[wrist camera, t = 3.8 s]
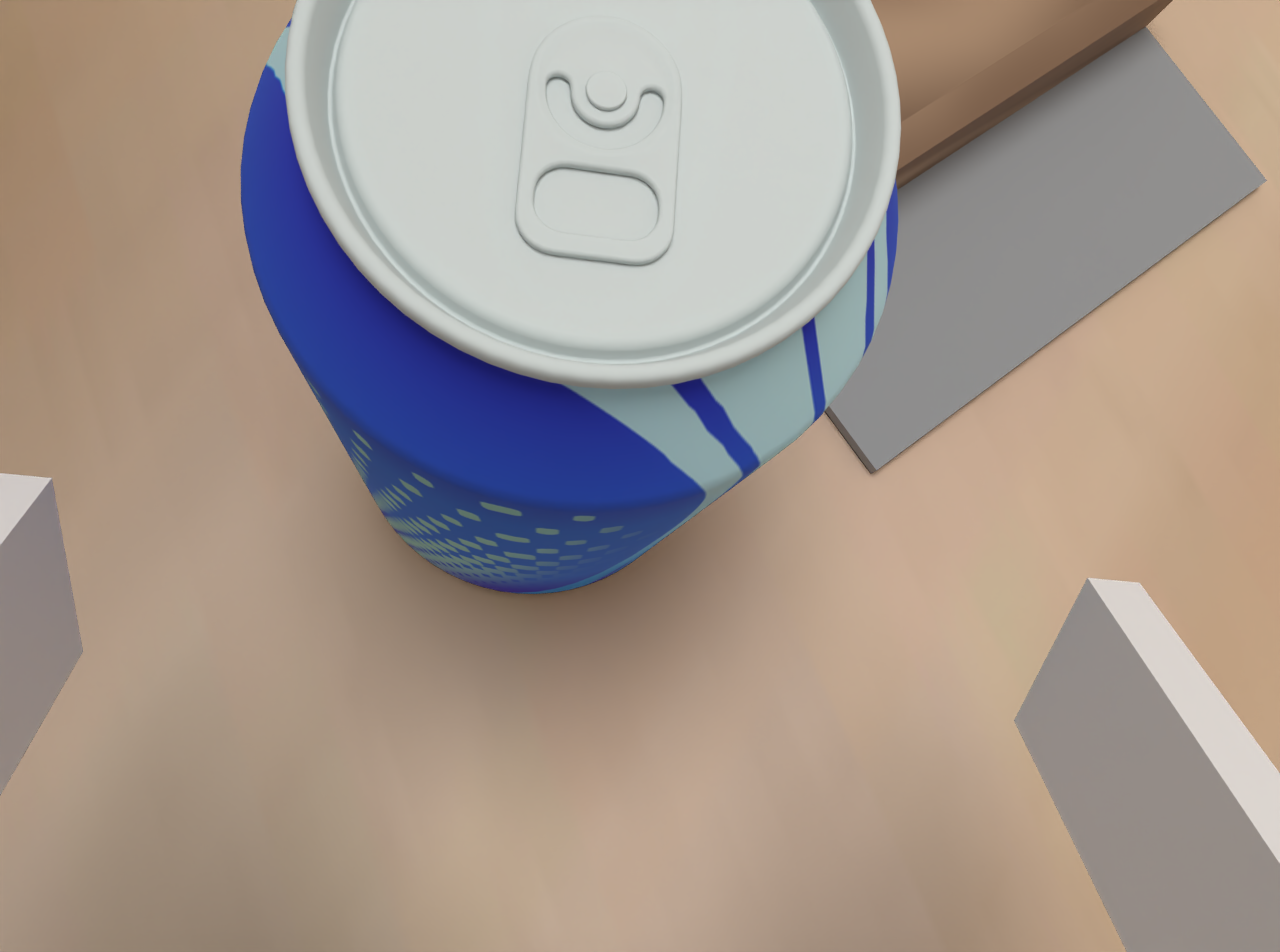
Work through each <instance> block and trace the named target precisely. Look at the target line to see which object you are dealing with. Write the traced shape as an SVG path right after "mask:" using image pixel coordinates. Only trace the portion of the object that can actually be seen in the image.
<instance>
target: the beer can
mask: <svg viewBox="0 0 1280 952" xmlns="http://www.w3.org/2000/svg"><path fill="white" fill-rule="evenodd" d="M900 137H901V113H900V98H899V90H898V83H897V76H896V72H895V67H894V63H893V59H892V55H891V51H890V48H889V45H888V42H887V39H886V36H885V33H884V30H883V27H882V24H881V22H880V20H879V18H878V15H877V13H876V11H875V9H874V7H873V4H872V2H871V0H297V2H296V5H295V8H294V11H293V15H292V18H291V20H290V21H289V23H288V25H287V26H286V28H285V30H284V31H283V33H282V34H281V36H280V38H279V39H278V41H277V43H276V44H275V47H274V49H273V51H272V53H271V55H270V57H269V59H268V61H267V64H266V66H265V68H264V70H263V72H262V75H261V78H260V81H259V84H258V87H257V90H256V93H255V96H254V99H253V102H252V105H251V108H250V113H249V117H248V122H247V127H246V131H245V136H244V143H243V153H242V162H241V204H242V213H243V221H244V229H245V235H246V240H247V244H248V248H249V252H250V257H251V261H252V265H253V270H254V273H255V276H256V279H257V282H258V285H259V287H260V290H261V293H262V296H263V299H264V302H265V304H266V306H267V308H268V310H269V312H270V315H271V317H272V319H273V321H274V323H275V325H276V327H277V329H278V331H279V333H280V335H281V337H282V339H283V340H284V342H285V344H286V346H287V347H288V349H289V351H290V353H291V354H292V356H293V358H294V360H295V361H296V363H297V365H298V367H299V368H300V370H301V372H302V374H303V375H304V377H305V379H306V381H307V382H308V384H309V386H310V388H311V389H312V391H313V393H314V395H315V396H316V398H317V400H318V402H319V403H320V405H321V407H322V409H323V411H324V412H325V414H326V416H327V418H328V419H329V421H330V423H331V425H332V426H333V428H334V430H335V432H336V433H337V435H338V437H339V439H340V440H341V442H342V444H343V446H344V447H345V449H346V451H347V453H348V454H349V456H350V458H351V460H352V461H353V463H354V465H355V467H356V468H357V470H358V472H359V474H360V475H361V477H362V479H363V481H364V482H365V484H366V486H367V488H368V489H369V491H370V493H371V495H372V496H373V498H374V500H375V502H376V503H377V505H378V507H379V508H380V510H381V512H382V513H383V515H384V517H385V518H386V519H387V521H388V522H389V523H390V525H391V526H392V527H393V529H394V530H395V531H396V532H397V533H398V534H399V535H400V536H401V538H402V539H403V540H404V541H405V542H406V543H407V544H408V545H409V546H410V547H412V548H413V549H414V550H415V551H416V552H417V553H418V554H420V555H421V556H422V557H424V558H425V559H426V560H428V561H429V562H431V563H432V564H433V565H435V566H437V567H438V568H440V569H442V570H443V571H445V572H447V573H449V574H451V575H453V576H455V577H457V578H459V579H462V580H464V581H466V582H469V583H472V584H475V585H478V586H481V587H484V588H489V589H493V590H497V591H503V592H511V593H523V594H540V593H553V592H559V591H565V590H571V589H574V588H578V587H582V586H585V585H588V584H591V583H593V582H596V581H599V580H601V579H603V578H605V577H607V576H609V575H611V574H613V573H615V572H617V571H619V570H621V569H622V568H624V567H625V566H627V565H629V564H630V563H632V562H633V561H634V560H636V559H637V558H638V557H640V556H641V555H642V554H644V553H645V552H646V551H648V550H649V549H651V548H652V547H653V546H655V545H656V544H657V543H659V542H660V541H661V540H663V539H664V538H665V537H667V536H668V535H669V534H671V533H672V532H673V531H675V530H676V529H677V528H679V527H680V526H681V525H683V524H684V523H686V522H687V521H688V520H690V519H691V518H692V517H694V516H695V515H696V514H698V513H699V512H700V511H702V510H703V509H704V508H706V507H707V506H708V505H710V504H711V503H712V502H714V501H715V500H717V499H718V498H719V497H721V496H722V495H723V494H725V493H726V492H727V491H729V490H730V489H731V488H733V487H734V486H735V485H737V484H738V483H739V482H741V481H742V480H743V479H745V478H746V477H747V476H749V475H750V474H752V473H753V472H754V471H756V470H757V469H758V468H760V467H761V466H762V465H764V464H765V463H766V462H768V461H769V460H770V459H772V458H773V457H774V456H776V455H777V454H778V453H780V452H781V451H782V450H783V449H785V448H786V447H787V446H788V445H790V444H791V443H792V442H794V441H795V440H796V439H797V438H798V437H800V436H801V435H802V434H803V433H804V432H805V431H806V430H807V429H808V428H809V427H810V426H811V425H812V424H813V423H814V422H815V421H816V420H817V419H818V418H819V417H820V416H821V415H822V414H823V412H824V411H825V410H826V409H827V408H828V406H829V405H830V404H831V403H832V402H833V400H834V399H835V398H836V397H837V396H838V394H839V393H840V392H841V390H842V389H843V387H844V386H845V384H846V383H847V381H848V380H849V378H850V377H851V376H852V374H853V373H854V371H855V370H856V368H857V367H858V365H859V363H860V361H861V359H862V358H863V356H864V354H865V352H866V350H867V348H868V346H869V344H870V342H871V340H872V338H873V336H874V333H875V331H876V328H877V326H878V323H879V321H880V318H881V316H882V313H883V310H884V307H885V303H886V299H887V296H888V292H889V289H890V285H891V280H892V274H893V268H894V262H895V256H896V249H897V233H898V196H897V185H896V173H897V167H898V161H899V152H900Z"/></svg>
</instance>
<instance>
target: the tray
mask: <svg viewBox="0 0 1280 952" xmlns="http://www.w3.org/2000/svg"><path fill="white" fill-rule="evenodd" d="M1171 1H1172V0H871V2H872V4H873V7H874V9H875V11H876V13H877V15H878V18H879V20H880V22H881V24H882V27H883V30H884V33H885V36H886V39H887V42H888V45H889V48H890V51H891V55H892V59H893V63H894V67H895V72H896V76H897V83H898V90H899V98H900V113H901V137H900V152H899V161H898V167H897V173H896V185H897V190H898V189H899V188H901V187H903V186H904V185H906V184H907V183H909V182H910V181H912V180H913V179H915V178H916V177H918V176H919V175H921V174H922V173H924V172H925V171H927V170H928V169H930V168H931V167H933V166H934V165H936V164H937V163H939V162H941V161H942V160H944V159H945V158H947V157H948V156H950V155H951V154H953V153H954V152H956V151H957V150H959V149H960V148H962V147H963V146H965V145H966V144H968V143H969V142H971V141H972V140H974V139H975V138H977V137H979V136H980V135H982V134H983V133H985V132H986V131H988V130H989V129H991V128H992V127H994V126H995V125H997V124H998V123H1000V122H1001V121H1003V120H1004V119H1006V118H1007V117H1009V116H1010V115H1012V114H1014V113H1015V112H1017V111H1018V110H1020V109H1021V108H1023V107H1024V106H1026V105H1027V104H1029V103H1030V102H1032V101H1033V100H1035V99H1036V98H1038V97H1039V96H1041V95H1042V94H1044V93H1045V92H1047V91H1048V90H1050V89H1052V88H1053V87H1055V86H1056V85H1058V84H1059V83H1061V82H1062V81H1064V80H1065V79H1067V78H1068V77H1070V76H1071V75H1073V74H1074V73H1076V72H1077V71H1079V70H1080V69H1082V68H1083V67H1085V66H1086V65H1088V64H1090V63H1091V62H1093V61H1094V60H1096V59H1097V58H1099V57H1100V56H1102V55H1103V54H1105V53H1106V52H1108V51H1109V50H1111V49H1112V48H1114V47H1115V46H1117V45H1118V44H1120V43H1121V42H1123V41H1124V40H1126V39H1128V38H1129V37H1131V36H1132V35H1134V34H1135V33H1137V32H1138V31H1140V30H1141V29H1143V28H1144V27H1146V26H1147V25H1148V24H1149V23H1150V22H1151V21H1152V20H1153V19H1154V18H1155V17H1156V16H1157V15H1158V14H1159V13H1160V12H1161V11H1162V10H1163V9H1164V8H1165V7H1166V6H1167V5H1168V4H1169V3H1170V2H1171Z"/></svg>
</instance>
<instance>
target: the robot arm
mask: <svg viewBox="0 0 1280 952" xmlns="http://www.w3.org/2000/svg"><path fill="white" fill-rule="evenodd" d="M82 652H83V648H82V643H81V637H80V632H79V626H78V621H77V615H76V609H75V604H74V598H73V593H72V587H71V582H70V576H69V571H68V565H67V560H66V554H65V548H64V543H63V537H62V532H61V526H60V521H59V515H58V510H57V504H56V499H55V493H54V487H53V482H52V478H46V477H35V476H25V475H15V474H4V473H0V795H1V794H2V792H3V790H4V788H5V787H6V785H7V783H8V781H9V780H10V778H11V776H12V774H13V773H14V771H15V769H16V767H17V766H18V764H19V762H20V760H21V759H22V757H23V755H24V753H25V752H26V750H27V748H28V746H29V745H30V743H31V741H32V740H33V738H34V736H35V734H36V733H37V731H38V729H39V727H40V726H41V724H42V722H43V720H44V719H45V717H46V715H47V713H48V712H49V710H50V708H51V706H52V705H53V703H54V701H55V699H56V698H57V696H58V694H59V692H60V691H61V689H62V687H63V685H64V684H65V682H66V680H67V678H68V677H69V675H70V673H71V671H72V670H73V668H74V666H75V664H76V663H77V661H78V659H79V657H80V656H81V654H82ZM1014 721H1015V724H1016V726H1017V728H1018V730H1019V732H1020V734H1021V736H1022V738H1023V740H1024V742H1025V744H1026V746H1027V748H1028V750H1029V752H1030V754H1031V756H1032V758H1033V760H1034V762H1035V765H1036V767H1037V769H1038V771H1039V773H1040V775H1041V777H1042V779H1043V781H1044V783H1045V785H1046V787H1047V789H1048V791H1049V793H1050V795H1051V797H1052V799H1053V801H1054V804H1055V806H1056V808H1057V810H1058V812H1059V814H1060V816H1061V818H1062V820H1063V822H1064V824H1065V826H1066V828H1067V830H1068V832H1069V834H1070V836H1071V838H1072V840H1073V842H1074V845H1075V847H1076V849H1077V851H1078V853H1079V855H1080V857H1081V859H1082V861H1083V863H1084V865H1085V867H1086V869H1087V871H1088V873H1089V875H1090V877H1091V879H1092V881H1093V884H1094V886H1095V888H1096V890H1097V892H1098V894H1099V896H1100V898H1101V900H1102V902H1103V904H1104V906H1105V908H1106V910H1107V912H1108V914H1109V916H1110V918H1111V920H1112V922H1113V925H1114V927H1115V929H1116V931H1117V933H1118V935H1119V937H1120V939H1121V941H1122V943H1123V945H1124V947H1125V949H1126V951H1127V952H1280V773H1279V772H1278V770H1277V769H1276V768H1275V766H1274V765H1273V764H1272V762H1271V761H1270V760H1269V758H1268V757H1267V756H1266V754H1265V753H1264V751H1263V750H1262V749H1261V747H1260V746H1259V745H1258V743H1257V742H1256V741H1255V739H1254V738H1253V736H1252V735H1251V734H1250V732H1249V731H1248V730H1247V728H1246V727H1245V726H1244V724H1243V723H1242V722H1241V720H1240V719H1239V717H1238V716H1237V715H1236V713H1235V712H1234V711H1233V709H1232V708H1231V707H1230V705H1229V704H1228V702H1227V701H1226V700H1225V698H1224V697H1223V696H1222V694H1221V693H1220V692H1219V690H1218V689H1217V688H1216V686H1215V685H1214V683H1213V682H1212V681H1211V679H1210V678H1209V677H1208V675H1207V674H1206V673H1205V671H1204V670H1203V668H1202V667H1201V666H1200V664H1199V663H1198V662H1197V660H1196V659H1195V658H1194V656H1193V655H1192V654H1191V652H1190V651H1189V649H1188V648H1187V647H1186V645H1185V644H1184V643H1183V641H1182V640H1181V639H1180V637H1179V636H1178V634H1177V633H1176V632H1175V630H1174V629H1173V628H1172V626H1171V625H1170V624H1169V622H1168V621H1167V620H1166V618H1165V617H1164V615H1163V614H1162V613H1161V611H1160V610H1159V609H1158V607H1157V606H1156V605H1155V603H1154V602H1153V600H1152V599H1151V598H1150V596H1149V595H1148V594H1147V592H1146V591H1145V590H1144V588H1143V587H1142V586H1141V584H1140V583H1136V582H1126V581H1116V580H1105V579H1095V578H1087V580H1086V582H1085V584H1084V586H1083V587H1082V589H1081V591H1080V593H1079V595H1078V597H1077V599H1076V601H1075V603H1074V605H1073V607H1072V609H1071V611H1070V613H1069V615H1068V617H1067V619H1066V621H1065V622H1064V624H1063V626H1062V628H1061V630H1060V632H1059V634H1058V636H1057V638H1056V640H1055V642H1054V644H1053V646H1052V648H1051V650H1050V652H1049V654H1048V656H1047V657H1046V659H1045V661H1044V663H1043V665H1042V667H1041V669H1040V671H1039V673H1038V675H1037V677H1036V679H1035V681H1034V683H1033V685H1032V687H1031V689H1030V691H1029V693H1028V694H1027V696H1026V698H1025V700H1024V702H1023V704H1022V706H1021V708H1020V710H1019V712H1018V714H1017V716H1016V718H1015V720H1014Z"/></svg>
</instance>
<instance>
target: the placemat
mask: <svg viewBox="0 0 1280 952" xmlns="http://www.w3.org/2000/svg"><path fill="white" fill-rule="evenodd" d="M1266 181H1267V180H1266V179H1265V177H1264V176H1263V175H1262V174H1261V172H1260V171H1259V170H1258V169H1257V167H1256V166H1255V165H1254V164H1253V162H1252V161H1251V160H1250V158H1249V157H1248V156H1247V155H1246V153H1245V152H1244V151H1243V150H1242V148H1241V147H1240V146H1239V144H1238V143H1237V142H1236V141H1235V139H1234V138H1233V137H1232V136H1231V134H1230V133H1229V132H1228V131H1227V129H1226V128H1225V127H1224V125H1223V124H1222V123H1221V122H1220V120H1219V119H1218V118H1217V117H1216V115H1215V114H1214V113H1213V111H1212V110H1211V109H1210V108H1209V106H1208V105H1207V104H1206V103H1205V101H1204V100H1203V99H1202V98H1201V96H1200V95H1199V94H1198V92H1197V91H1196V90H1195V89H1194V87H1193V86H1192V85H1191V84H1190V82H1189V81H1188V80H1187V78H1186V77H1185V76H1184V75H1183V73H1182V72H1181V71H1180V70H1179V68H1178V67H1177V66H1176V65H1175V63H1174V62H1173V61H1172V59H1171V58H1170V57H1169V56H1168V54H1167V53H1166V52H1165V51H1164V49H1163V48H1162V47H1161V45H1160V44H1159V43H1158V42H1157V40H1156V39H1155V38H1154V37H1153V35H1152V34H1151V33H1150V32H1149V30H1148V29H1147V28H1146V27H1144V28H1143V29H1141V30H1140V31H1138V32H1137V33H1135V34H1134V35H1132V36H1131V37H1129V38H1128V39H1126V40H1124V41H1123V42H1121V43H1120V44H1118V45H1117V46H1115V47H1114V48H1112V49H1111V50H1109V51H1108V52H1106V53H1105V54H1103V55H1102V56H1100V57H1099V58H1097V59H1096V60H1094V61H1093V62H1091V63H1090V64H1088V65H1086V66H1085V67H1083V68H1082V69H1080V70H1079V71H1077V72H1076V73H1074V74H1073V75H1071V76H1070V77H1068V78H1067V79H1065V80H1064V81H1062V82H1061V83H1059V84H1058V85H1056V86H1055V87H1053V88H1052V89H1050V90H1048V91H1047V92H1045V93H1044V94H1042V95H1041V96H1039V97H1038V98H1036V99H1035V100H1033V101H1032V102H1030V103H1029V104H1027V105H1026V106H1024V107H1023V108H1021V109H1020V110H1018V111H1017V112H1015V113H1014V114H1012V115H1010V116H1009V117H1007V118H1006V119H1004V120H1003V121H1001V122H1000V123H998V124H997V125H995V126H994V127H992V128H991V129H989V130H988V131H986V132H985V133H983V134H982V135H980V136H979V137H977V138H975V139H974V140H972V141H971V142H969V143H968V144H966V145H965V146H963V147H962V148H960V149H959V150H957V151H956V152H954V153H953V154H951V155H950V156H948V157H947V158H945V159H944V160H942V161H941V162H939V163H937V164H936V165H934V166H933V167H931V168H930V169H928V170H927V171H925V172H924V173H922V174H921V175H919V176H918V177H916V178H915V179H913V180H912V181H910V182H909V183H907V184H906V185H904V186H903V187H901V188H899V189H898V190H897V196H898V233H897V249H896V256H895V262H894V268H893V274H892V280H891V285H890V289H889V292H888V296H887V299H886V303H885V307H884V310H883V313H882V316H881V318H880V321H879V323H878V326H877V328H876V331H875V333H874V336H873V338H872V340H871V342H870V344H869V346H868V348H867V350H866V352H865V354H864V356H863V358H862V359H861V361H860V363H859V365H858V367H857V368H856V370H855V371H854V373H853V374H852V376H851V377H850V378H849V380H848V381H847V383H846V384H845V386H844V387H843V389H842V390H841V392H840V393H839V394H838V396H837V397H836V398H835V399H834V400H833V402H832V403H831V404H830V405H829V406H828V408H827V409H826V410H825V412H826V413H827V414H828V416H829V417H830V419H831V420H832V421H833V423H834V424H835V425H836V427H837V428H838V429H839V431H840V432H841V433H842V435H843V436H844V438H845V439H846V440H847V442H848V443H849V444H850V446H851V447H852V448H853V450H854V451H855V452H856V454H857V455H858V457H859V458H860V459H861V461H862V462H863V463H864V465H865V466H866V467H867V469H868V470H869V471H870V473H873V472H874V471H876V470H878V469H879V468H880V467H882V466H883V465H885V464H886V463H887V462H889V461H890V460H891V459H893V458H894V457H895V456H897V455H898V454H899V453H901V452H902V451H903V450H905V449H906V448H907V447H909V446H910V445H911V444H913V443H914V442H915V441H917V440H918V439H920V438H921V437H922V436H924V435H925V434H926V433H928V432H929V431H930V430H932V429H933V428H934V427H936V426H937V425H938V424H940V423H941V422H942V421H944V420H945V419H946V418H948V417H949V416H951V415H952V414H953V413H955V412H956V411H957V410H959V409H960V408H961V407H963V406H964V405H965V404H967V403H968V402H969V401H971V400H972V399H973V398H975V397H976V396H977V395H979V394H980V393H981V392H983V391H984V390H986V389H987V388H988V387H990V386H991V385H992V384H994V383H995V382H996V381H998V380H999V379H1000V378H1002V377H1003V376H1004V375H1006V374H1007V373H1008V372H1010V371H1011V370H1012V369H1014V368H1015V367H1016V366H1018V365H1019V364H1021V363H1022V362H1023V361H1025V360H1026V359H1027V358H1029V357H1030V356H1031V355H1033V354H1034V353H1035V352H1037V351H1038V350H1039V349H1041V348H1042V347H1043V346H1045V345H1046V344H1047V343H1049V342H1050V341H1052V340H1053V339H1054V338H1056V337H1057V336H1058V335H1060V334H1061V333H1062V332H1064V331H1065V330H1066V329H1068V328H1069V327H1070V326H1072V325H1073V324H1074V323H1076V322H1077V321H1078V320H1080V319H1081V318H1082V317H1084V316H1085V315H1087V314H1088V313H1089V312H1091V311H1092V310H1093V309H1095V308H1096V307H1097V306H1099V305H1100V304H1101V303H1103V302H1104V301H1105V300H1107V299H1108V298H1109V297H1111V296H1112V295H1113V294H1115V293H1116V292H1117V291H1119V290H1120V289H1122V288H1123V287H1124V286H1126V285H1127V284H1128V283H1130V282H1131V281H1132V280H1134V279H1135V278H1136V277H1138V276H1139V275H1140V274H1142V273H1143V272H1144V271H1146V270H1147V269H1148V268H1150V267H1151V266H1153V265H1154V264H1155V263H1157V262H1158V261H1159V260H1161V259H1162V258H1163V257H1165V256H1166V255H1167V254H1169V253H1170V252H1171V251H1173V250H1174V249H1175V248H1177V247H1178V246H1179V245H1181V244H1182V243H1183V242H1185V241H1186V240H1188V239H1189V238H1190V237H1192V236H1193V235H1194V234H1196V233H1197V232H1198V231H1200V230H1201V229H1202V228H1204V227H1205V226H1206V225H1208V224H1209V223H1210V222H1212V221H1213V220H1214V219H1216V218H1217V217H1219V216H1220V215H1221V214H1223V213H1224V212H1225V211H1227V210H1228V209H1229V208H1231V207H1232V206H1233V205H1235V204H1236V203H1237V202H1239V201H1240V200H1241V199H1243V198H1244V197H1245V196H1247V195H1248V194H1249V193H1251V192H1252V191H1254V190H1255V189H1256V188H1258V187H1259V186H1260V185H1262V184H1263V183H1264V182H1266Z"/></svg>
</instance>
